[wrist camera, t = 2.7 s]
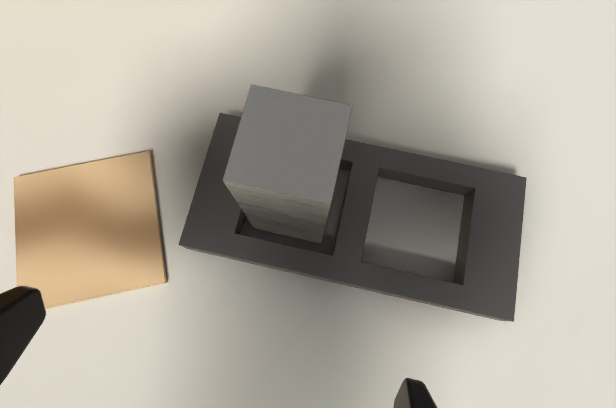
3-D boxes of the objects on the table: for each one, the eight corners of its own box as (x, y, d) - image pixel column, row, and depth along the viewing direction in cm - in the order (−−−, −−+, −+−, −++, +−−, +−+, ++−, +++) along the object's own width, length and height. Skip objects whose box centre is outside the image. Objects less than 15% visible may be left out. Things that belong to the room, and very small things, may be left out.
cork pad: (166, 282, 22) (164, 282, 22) (21, 313, 22) (17, 314, 21) (150, 152, 24) (148, 150, 24) (17, 178, 23) (13, 177, 23)
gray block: (335, 179, 24) (352, 105, 15) (320, 243, 23) (331, 204, 14) (270, 165, 24) (251, 84, 15) (254, 228, 23) (222, 180, 14)
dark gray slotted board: (512, 185, 24) (526, 177, 22) (499, 320, 22) (513, 321, 20) (224, 124, 24) (219, 112, 23) (186, 248, 22) (178, 244, 21)
